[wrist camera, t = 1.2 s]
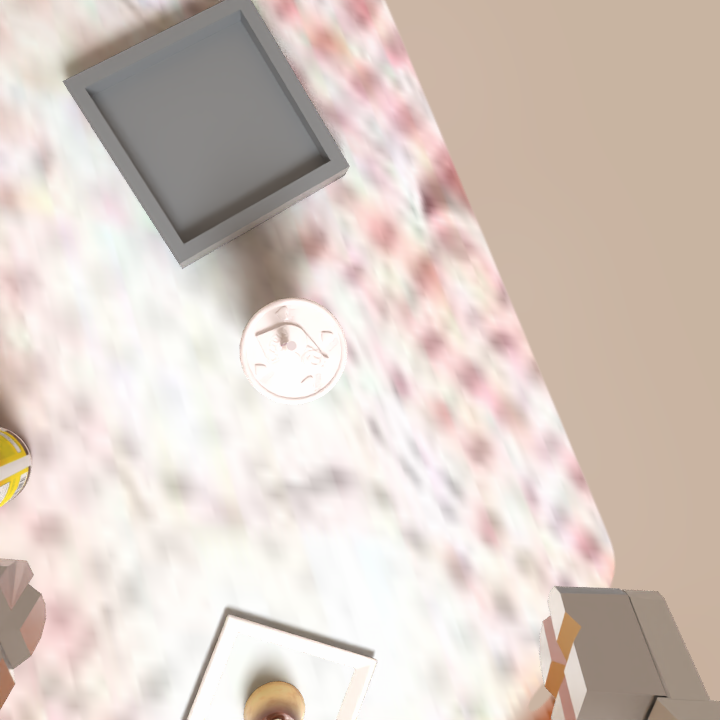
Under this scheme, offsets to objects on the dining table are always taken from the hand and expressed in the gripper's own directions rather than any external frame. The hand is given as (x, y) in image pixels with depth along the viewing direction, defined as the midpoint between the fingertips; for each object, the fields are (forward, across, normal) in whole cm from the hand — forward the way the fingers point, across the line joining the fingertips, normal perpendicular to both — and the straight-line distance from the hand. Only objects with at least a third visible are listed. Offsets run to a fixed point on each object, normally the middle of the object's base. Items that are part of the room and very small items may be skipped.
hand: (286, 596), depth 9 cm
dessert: (+19, +6, +38) cm, 43 cm away
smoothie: (+32, +6, +14) cm, 36 cm away
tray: (+39, +12, 0) cm, 41 cm away
